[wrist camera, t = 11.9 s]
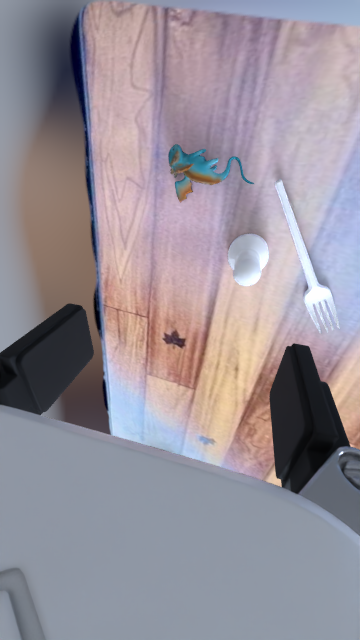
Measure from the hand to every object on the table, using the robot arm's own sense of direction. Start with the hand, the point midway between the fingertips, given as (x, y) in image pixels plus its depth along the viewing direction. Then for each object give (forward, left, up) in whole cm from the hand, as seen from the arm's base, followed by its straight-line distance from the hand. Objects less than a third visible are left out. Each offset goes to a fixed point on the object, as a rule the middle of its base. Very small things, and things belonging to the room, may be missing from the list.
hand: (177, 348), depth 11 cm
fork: (+2, +10, -24) cm, 26 cm away
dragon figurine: (-7, -3, -24) cm, 25 cm away
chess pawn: (+2, +3, -24) cm, 24 cm away
